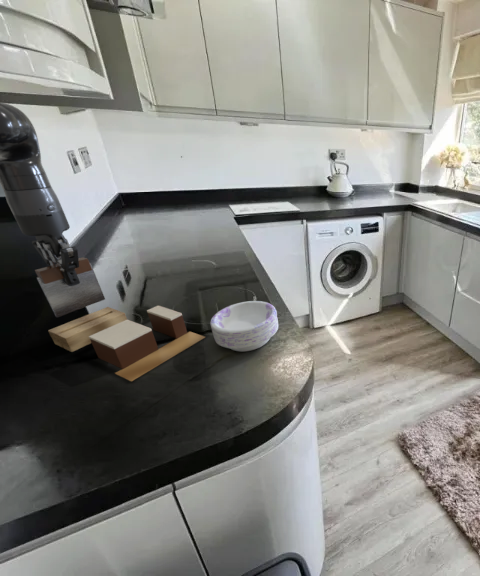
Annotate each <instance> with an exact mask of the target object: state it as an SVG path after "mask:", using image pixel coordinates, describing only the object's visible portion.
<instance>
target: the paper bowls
mask: <svg viewBox="0 0 480 576" xmlns="http://www.w3.org/2000/svg"><path fill="white" fill-rule="evenodd" d="M277 312H278V311H277V309H276V307H275V306H274V305H273V304H271V303H269V302H267V301H261V300H249V301H242V302H241V301H240V302H237V303H233V304H230V305H228V306H226V307H223V308H222V309H220V310H219V311H217V312H216V313H215V314H214V315H213V316H212V317H211V319H210V322H209V324H210V327H211V332H212V337H213V338H214V341H215V344H217V345H218V346H221V347H223V348H226V349H231V350H232V351H234V352H235V351H236V352H250V351H254V350H256V349H257V350H258V349H259V348H261V347H264V345H266V344H267V343H268V342H269V340H270V339H271V338H272V337H274V335H275V334H276V333H277V332H278V330H279V320H278V313H277Z"/></svg>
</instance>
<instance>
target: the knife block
mask: <svg viewBox="0 0 480 576" xmlns="http://www.w3.org/2000/svg"><path fill="white" fill-rule="evenodd" d="M126 315H127V314H126V312H123V311H121V310H119V309H115V308H113V307H109V306H107V307H104V308H101V309H99V310H96V311H94V312H91V313H89V314H85V315H83V316H81V317H78V318H76V319H73V320H71V321H68V322H65V323H64V324H60V325H58V326H56V327H53V328H51V329H48V331H47V332H48V334H49V336H50V337H51V339H52V341H53V343H54V345H56V346H59V347H60V348H62V349H65V350H66V351H69V352H71V353H73V352H75V351H78V350H79V349H81V348H84V347H86V346H88V345H91V344H92V343H91V340H90V338H89V336H91V335H93V334H95V333H98V332H100V331H102V330H104V329H107V328H109V327H111V326H114V325H116V324H118V323H120V322H123V321H125V320H128V318H127V316H126Z"/></svg>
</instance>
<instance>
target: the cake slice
mask: <svg viewBox="0 0 480 576" xmlns="http://www.w3.org/2000/svg"><path fill="white" fill-rule="evenodd" d="M146 313H147V316H148V318H149V321H150V324H151V327H152V331H155V332H157V333H161V334H163V335H166V336H168V337H171V338H174V339H177V338H179V337H181V336H183V335H185V334H186V333H188V330H187V327H186V323H185V320H184V317H183V314H182V312H179V311H176V310H174V309H171V308H168V307H164V306H161V305H156V306H153V307H151V308H149V309H147V310H146Z"/></svg>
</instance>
